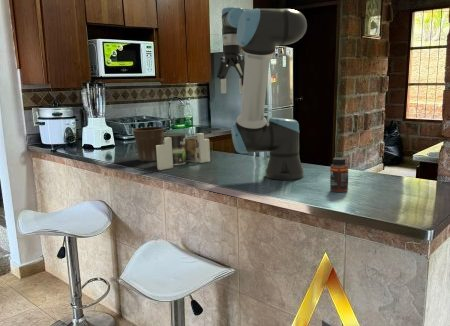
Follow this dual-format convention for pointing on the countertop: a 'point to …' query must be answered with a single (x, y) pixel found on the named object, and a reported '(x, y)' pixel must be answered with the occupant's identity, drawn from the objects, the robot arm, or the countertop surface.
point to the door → (190, 149)
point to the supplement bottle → (339, 175)
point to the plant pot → (148, 142)
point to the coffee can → (178, 148)
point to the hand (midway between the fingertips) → (232, 93)
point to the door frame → (166, 152)
